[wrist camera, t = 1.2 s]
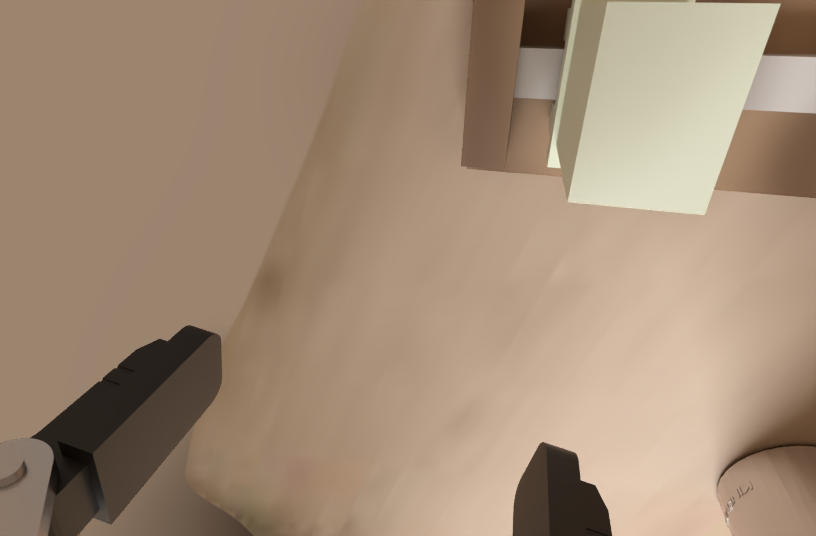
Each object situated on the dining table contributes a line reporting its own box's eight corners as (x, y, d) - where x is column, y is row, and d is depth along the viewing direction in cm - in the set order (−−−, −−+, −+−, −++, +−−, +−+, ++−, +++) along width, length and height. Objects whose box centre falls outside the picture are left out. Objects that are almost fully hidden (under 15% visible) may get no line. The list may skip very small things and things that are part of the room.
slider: (676, -19, 18) (812, -52, 9) (631, 154, 22) (700, 248, 13) (572, -20, 19) (608, -51, 10) (544, 148, 22) (554, 233, 14)
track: (1031, -62, 17) (1224, -92, 12) (887, 194, 22) (985, 243, 17) (488, -56, 21) (476, -77, 16) (470, 161, 26) (456, 193, 21)
